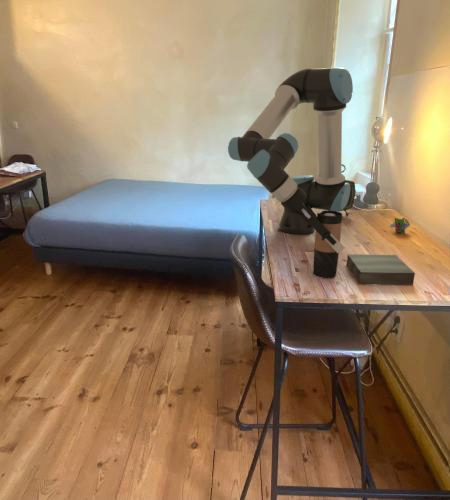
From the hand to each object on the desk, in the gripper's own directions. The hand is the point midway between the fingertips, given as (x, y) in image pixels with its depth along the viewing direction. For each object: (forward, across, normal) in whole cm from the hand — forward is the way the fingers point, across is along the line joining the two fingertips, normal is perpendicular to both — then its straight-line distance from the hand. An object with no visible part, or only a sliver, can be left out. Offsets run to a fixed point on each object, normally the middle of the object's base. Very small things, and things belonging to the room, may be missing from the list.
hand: (337, 245), depth 133 cm
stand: (+16, 0, +3) cm, 17 cm away
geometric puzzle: (+34, -48, +20) cm, 62 cm away
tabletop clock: (+19, -76, +5) cm, 78 cm away
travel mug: (+4, 0, -9) cm, 10 cm away
